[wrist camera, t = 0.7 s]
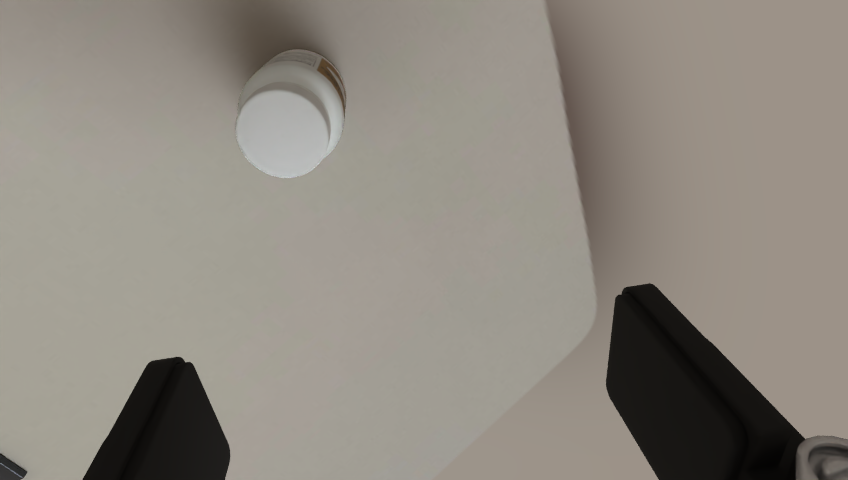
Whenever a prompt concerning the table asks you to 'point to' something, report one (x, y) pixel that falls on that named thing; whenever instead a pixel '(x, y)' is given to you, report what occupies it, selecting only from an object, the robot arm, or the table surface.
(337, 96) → the pill bottle
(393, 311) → the table surface
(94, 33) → the table surface
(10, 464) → the knife
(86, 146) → the table surface
